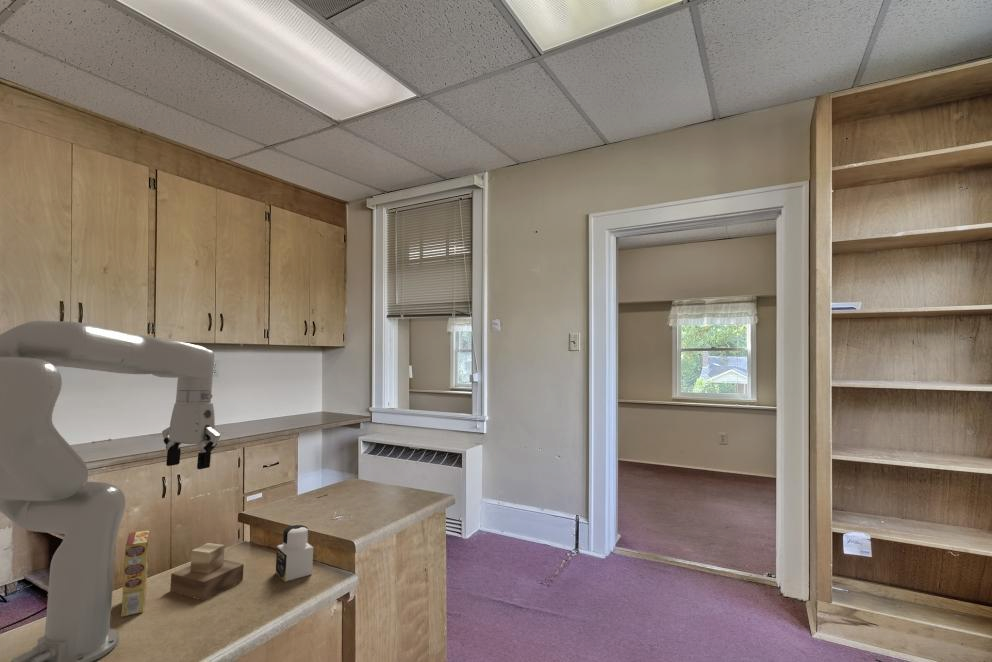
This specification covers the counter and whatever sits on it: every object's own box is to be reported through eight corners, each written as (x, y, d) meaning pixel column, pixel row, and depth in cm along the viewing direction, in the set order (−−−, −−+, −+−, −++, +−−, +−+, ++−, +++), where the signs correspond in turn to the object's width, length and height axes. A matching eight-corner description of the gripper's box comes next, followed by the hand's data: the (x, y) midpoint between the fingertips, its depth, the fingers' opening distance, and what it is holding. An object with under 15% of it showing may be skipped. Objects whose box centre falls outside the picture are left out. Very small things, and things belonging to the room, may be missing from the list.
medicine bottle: (275, 572, 128) (277, 526, 129) (302, 565, 133) (304, 521, 133) (284, 582, 123) (287, 534, 123) (312, 574, 127) (314, 528, 128)
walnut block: (202, 602, 113) (204, 582, 113) (170, 592, 117) (171, 573, 117) (242, 582, 123) (243, 564, 123) (211, 574, 127) (212, 556, 127)
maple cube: (208, 573, 117) (209, 552, 118) (190, 571, 118) (191, 550, 118) (223, 565, 122) (224, 544, 122) (206, 563, 123) (207, 542, 123)
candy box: (143, 612, 106) (148, 541, 107) (119, 618, 104) (124, 545, 105) (146, 596, 114) (150, 529, 115) (123, 600, 111) (128, 532, 112)
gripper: (233, 398, 123) (228, 466, 122) (180, 395, 128) (174, 461, 127) (208, 399, 116) (202, 472, 115) (153, 396, 121) (147, 466, 119)
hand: (187, 466), depth 121 cm, fingers open, 9 cm apart
